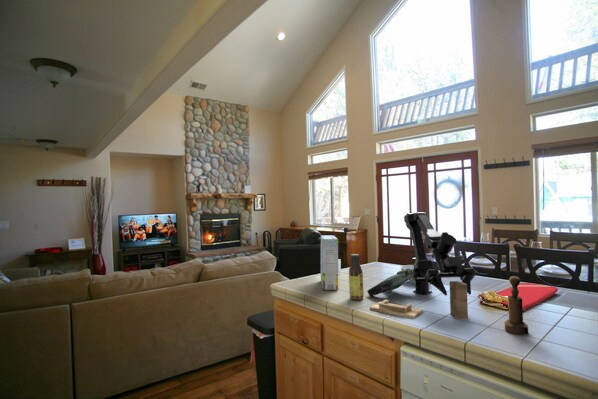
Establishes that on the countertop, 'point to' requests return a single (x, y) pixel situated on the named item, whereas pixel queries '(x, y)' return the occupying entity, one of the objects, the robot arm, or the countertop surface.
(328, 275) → the snack box
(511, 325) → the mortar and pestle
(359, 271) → the sauce bottle
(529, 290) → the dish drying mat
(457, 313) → the walnut board piece
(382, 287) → the teal curved piece
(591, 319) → the countertop surface
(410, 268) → the chinaware
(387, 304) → the oak base board
